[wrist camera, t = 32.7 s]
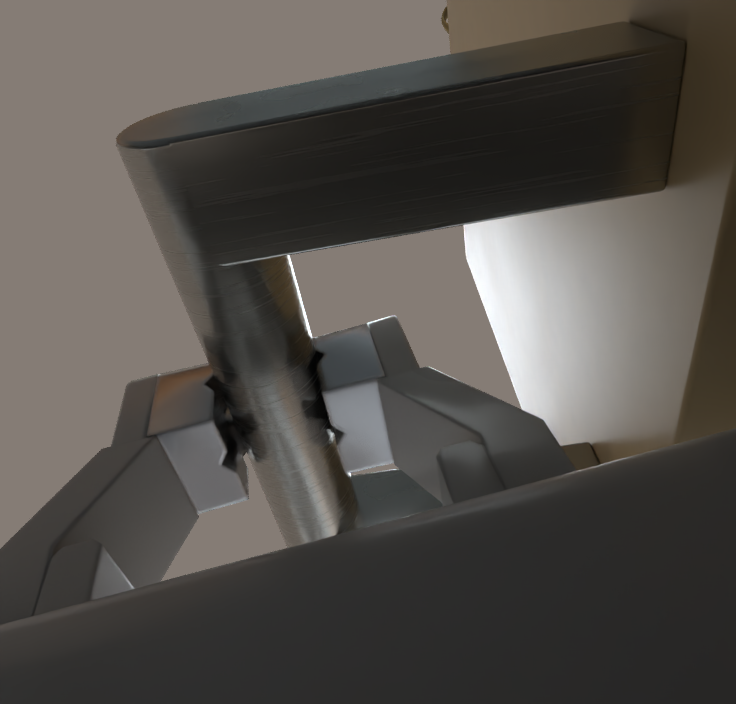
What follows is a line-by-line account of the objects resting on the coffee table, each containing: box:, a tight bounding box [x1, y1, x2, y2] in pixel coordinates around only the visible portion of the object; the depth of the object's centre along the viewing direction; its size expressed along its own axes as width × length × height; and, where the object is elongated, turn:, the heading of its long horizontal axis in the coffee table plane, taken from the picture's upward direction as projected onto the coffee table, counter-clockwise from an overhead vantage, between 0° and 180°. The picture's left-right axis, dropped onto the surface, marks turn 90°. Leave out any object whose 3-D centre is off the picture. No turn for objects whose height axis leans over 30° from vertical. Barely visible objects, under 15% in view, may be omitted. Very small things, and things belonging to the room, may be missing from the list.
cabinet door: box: [116, 0, 736, 548], centre depth 15 cm, size 7×19×15 cm, turn 178°
